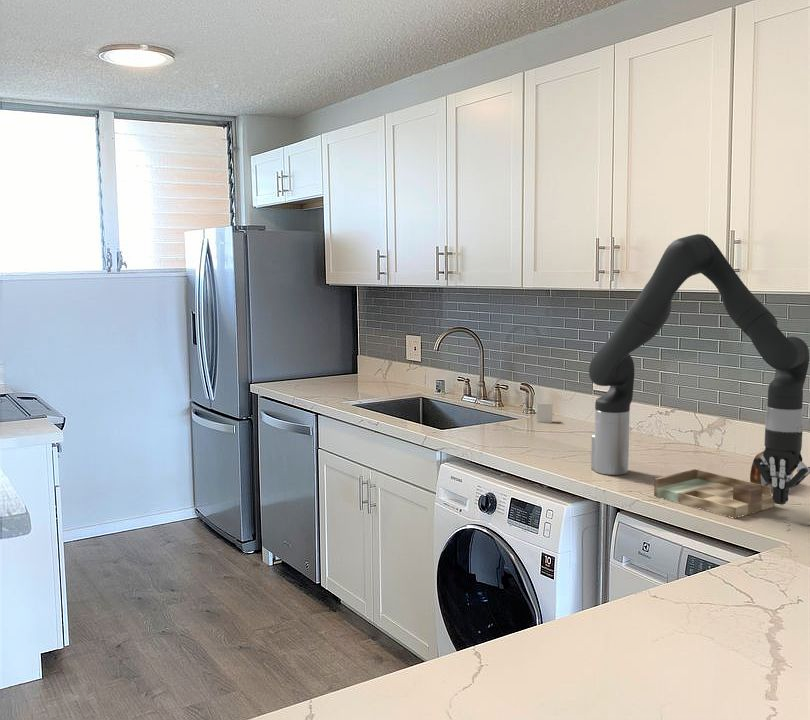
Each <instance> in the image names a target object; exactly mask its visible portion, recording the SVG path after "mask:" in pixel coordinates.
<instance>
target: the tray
mask: <svg viewBox="0 0 810 720" xmlns="http://www.w3.org/2000/svg"><path fill="white" fill-rule="evenodd" d="M742 484H748V485H752V486H756V487H760V488H762V501H759V502H755V503H752V504H749V503H745V502H741V501H737V500H733V487H735V486H738V485H742ZM653 486H654V488H653V489H654V490H653V497H654V496H656V497H655V498H658V497H660V498H659V499H661V498H664V499H663V500H665V499H667V500H666V501H669V500H671V501H670V502H672V501H675V502H674V503H676V502H679V503H682V504H681V505H683V504H685V505H684V506H686V505H690V506H693V507H692V508H694V507H697V508H701V509H704V510H709V511H712V512H715V513H718V514H717V515H719V514H722V515H726V516H730V517H733V518H735V517H738V516H742V515H745V516H747V515H746V514H748V515H750V514H749V513H752V514H754V513H753V512H755V513H758V512H760V511H761V510H762V511H764V510H769V509H771V508H774V507H775V504H776V503H775V502H774V500H773V495H772V487H771V486H769V485H768V486H767V485H766V486H764V485H760V484H756V483H752V482H750V481H747V480H743V479H738V478H734V477H729V476H727V475H726V476H725V475H721V474H718V473H712V472H708V471H704V470H700V469H696V468H695V469H690V470H687V471H681V472H678V473H677V472H676V473H673V474H669V475H663V476H660V477H655V478H654V484H653ZM679 503H678V504H679ZM690 506H689V507H690ZM697 508H696V509H697ZM701 509H700V510H701ZM704 510H703V511H704ZM715 513H714V514H715ZM722 515H721V516H722ZM726 516H725V517H726ZM742 517H743V516H742ZM733 518H732V519H733ZM738 518H739V517H738ZM735 519H736V518H735Z"/></svg>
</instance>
